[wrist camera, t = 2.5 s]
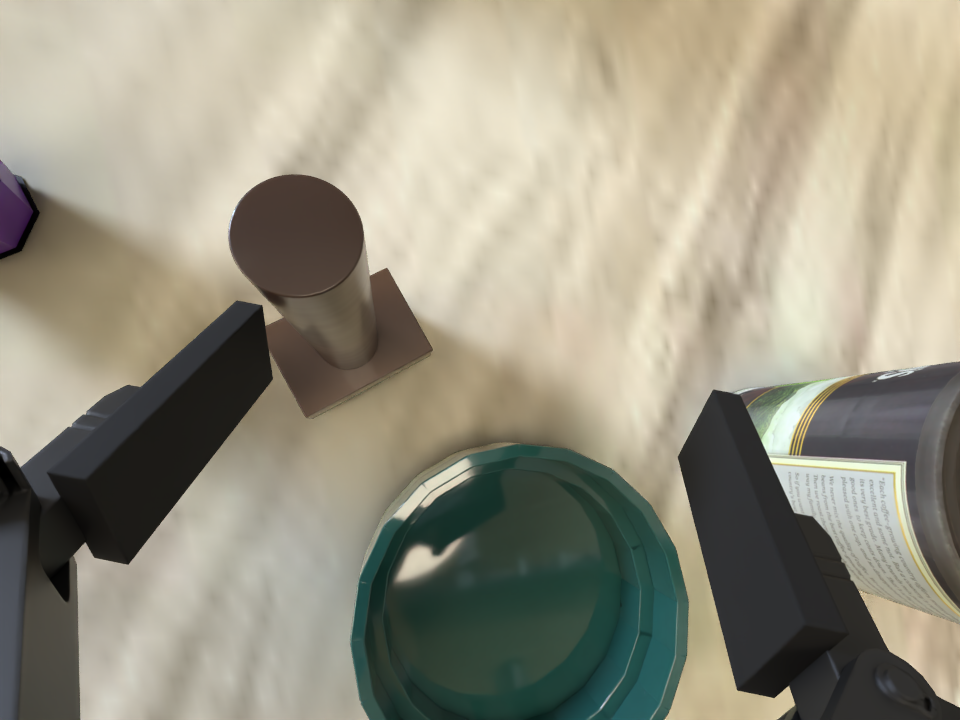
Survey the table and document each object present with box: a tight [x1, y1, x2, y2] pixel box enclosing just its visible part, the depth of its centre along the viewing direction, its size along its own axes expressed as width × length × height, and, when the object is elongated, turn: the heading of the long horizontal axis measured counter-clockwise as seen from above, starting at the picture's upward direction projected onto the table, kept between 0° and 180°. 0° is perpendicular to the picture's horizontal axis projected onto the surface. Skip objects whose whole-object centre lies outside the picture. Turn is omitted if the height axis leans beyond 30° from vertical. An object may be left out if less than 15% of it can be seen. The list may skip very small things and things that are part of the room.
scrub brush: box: [229, 174, 433, 418], centre depth 19 cm, size 5×7×17 cm
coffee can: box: [734, 362, 960, 624], centre depth 24 cm, size 10×10×14 cm
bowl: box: [350, 442, 689, 720], centre depth 24 cm, size 15×15×5 cm
